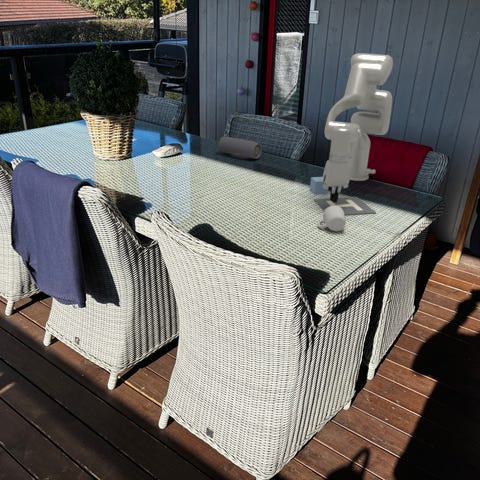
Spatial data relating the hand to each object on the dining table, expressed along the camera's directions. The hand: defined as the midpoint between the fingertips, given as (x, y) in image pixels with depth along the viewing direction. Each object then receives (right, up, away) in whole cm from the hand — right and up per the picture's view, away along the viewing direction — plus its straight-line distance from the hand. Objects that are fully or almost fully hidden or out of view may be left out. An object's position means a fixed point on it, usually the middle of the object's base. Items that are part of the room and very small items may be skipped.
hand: (333, 201), depth 199 cm
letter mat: (+5, -2, +2) cm, 6 cm away
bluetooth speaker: (-39, +29, +65) cm, 81 cm away
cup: (-4, -11, -23) cm, 26 cm away
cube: (-3, +6, +18) cm, 19 cm away
